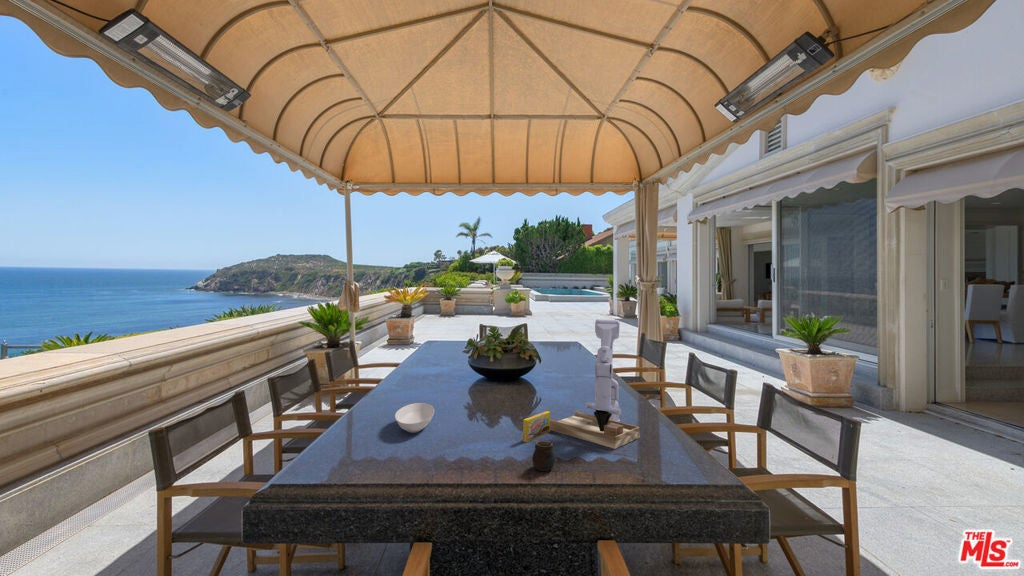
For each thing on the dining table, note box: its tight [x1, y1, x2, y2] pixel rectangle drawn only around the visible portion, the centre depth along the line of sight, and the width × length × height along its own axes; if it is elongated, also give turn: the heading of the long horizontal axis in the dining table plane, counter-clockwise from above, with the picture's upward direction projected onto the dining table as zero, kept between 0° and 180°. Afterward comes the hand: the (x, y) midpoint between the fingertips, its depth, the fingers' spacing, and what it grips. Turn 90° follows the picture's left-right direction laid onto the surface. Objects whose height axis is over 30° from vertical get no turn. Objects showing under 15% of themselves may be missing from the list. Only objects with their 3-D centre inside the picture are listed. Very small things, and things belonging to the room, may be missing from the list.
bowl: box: [394, 402, 435, 434], centre depth 185 cm, size 30×15×6 cm, turn 4°
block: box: [604, 423, 623, 437], centre depth 170 cm, size 5×5×4 cm
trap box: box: [550, 411, 641, 450], centre depth 181 cm, size 18×30×4 cm, turn 46°
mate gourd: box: [531, 440, 556, 472], centre depth 145 cm, size 7×8×10 cm
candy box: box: [521, 410, 551, 443], centre depth 176 cm, size 16×2×8 cm, turn 143°
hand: (602, 430), depth 174 cm, fingers closed
